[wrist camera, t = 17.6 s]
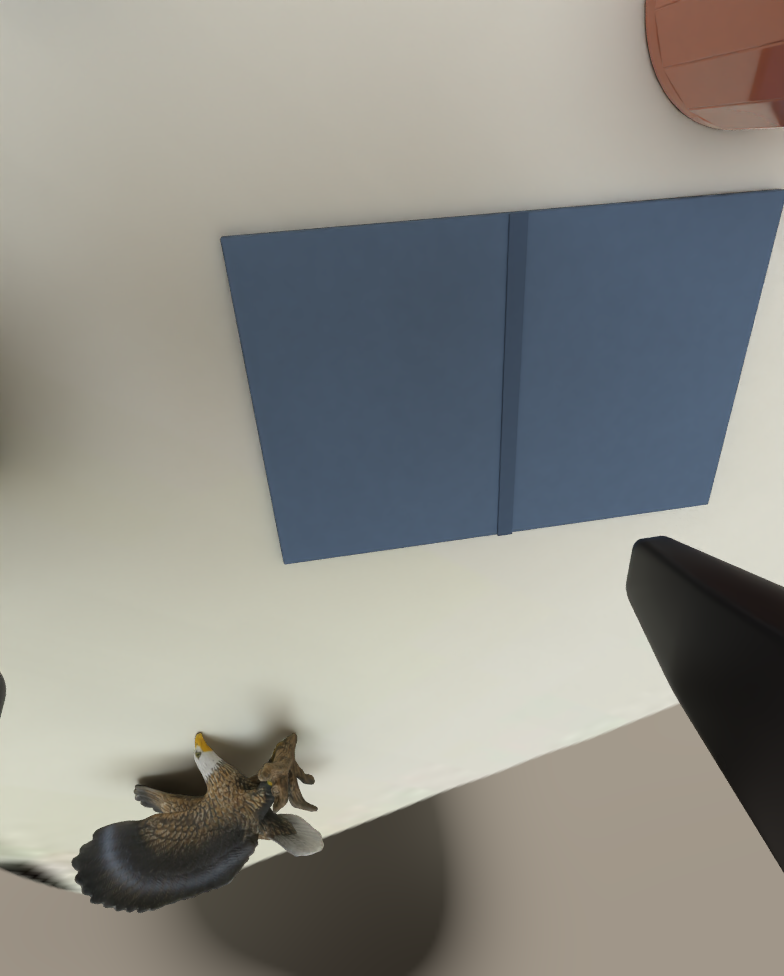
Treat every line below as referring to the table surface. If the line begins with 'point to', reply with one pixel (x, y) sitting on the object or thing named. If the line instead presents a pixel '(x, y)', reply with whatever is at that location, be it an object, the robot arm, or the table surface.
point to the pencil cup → (720, 60)
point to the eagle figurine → (197, 834)
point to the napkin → (496, 366)
